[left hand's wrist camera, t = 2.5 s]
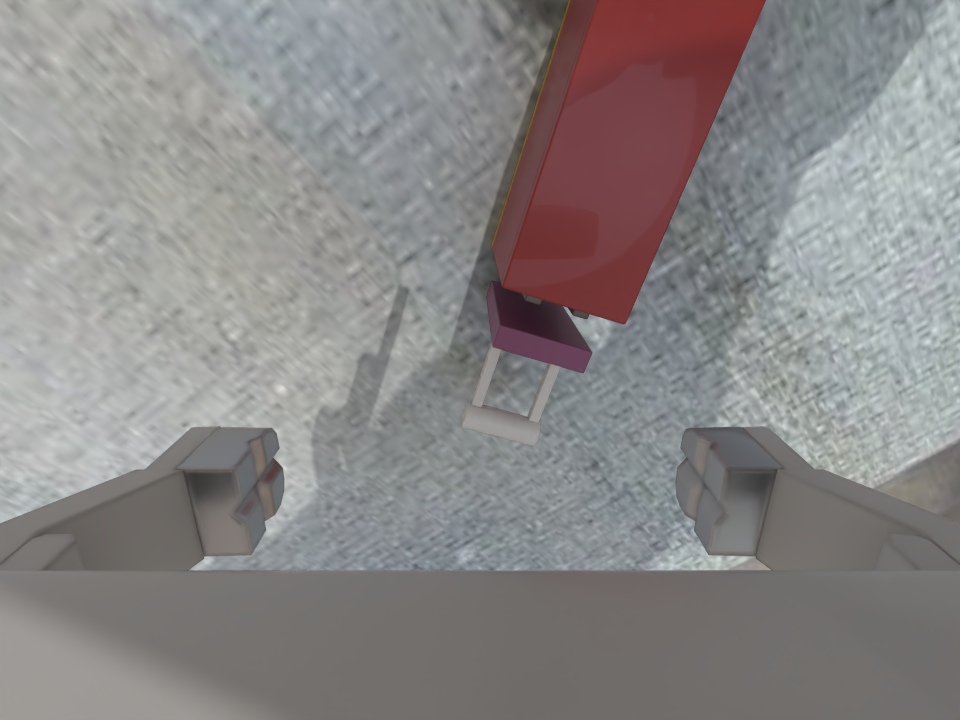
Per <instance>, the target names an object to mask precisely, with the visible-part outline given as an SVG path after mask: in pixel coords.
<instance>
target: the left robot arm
mask: <svg viewBox="0 0 960 720" xmlns="http://www.w3.org/2000/svg"><path fill="white" fill-rule="evenodd" d="M278 450H279V443H278V438H277V433H276V432H275V431H274V430H273V429H272V428H248V427H220V426H217V427H193V428H191V429H190V430H189V431H187V432H186V433H185V434H184V435H183V436H182V437H181V438H180V439H178V440H177V441H176V442H175V443H174V444H173V445H172V446H171V447H170V448H168V449H167V450H166V451H165V452H164V453H163V454H162V455H161V456H160V457H158V458H157V459H156V460H155V461H154V462H153V463H152V464H151V465H149V466H148V467H147V468H146V469H145V470H134V471H132V472H129V473H127V474H124V475H122V476H119V477H117V478H114V479H111V480H109V481H106V482H104V483H101V484H99V485H96V486H94V487H91V488H89V489H86V490H84V491H81V492H79V493H76V494H74V495H71V496H68V497H66V498H63V499H61V500H58V501H56V502H53V503H51V504H48V505H46V506H43V507H41V508H38V509H36V510H33V511H31V512H28V513H25V514H23V515H20V516H18V517H15V518H13V519H10V520H8V521H5V522H3V523H0V720H960V524H959V523H957V522H954V521H952V520H949V519H947V518H944V517H942V516H939V515H937V514H934V513H932V512H929V511H927V510H924V509H922V508H919V507H917V506H914V505H912V504H909V503H906V502H904V501H901V500H899V499H896V498H894V497H891V496H889V495H886V494H884V493H881V492H879V491H876V490H874V489H871V488H869V487H866V486H864V485H861V484H859V483H856V482H854V481H851V480H848V479H846V478H843V477H841V476H838V475H836V474H833V473H831V472H828V471H826V470H815V469H814V468H813V467H812V466H811V465H809V464H808V463H807V462H806V461H805V460H804V459H803V458H802V457H801V456H799V455H798V454H797V453H796V452H795V451H794V450H793V449H792V448H791V447H789V446H788V445H787V444H786V443H785V442H784V441H783V440H782V439H781V438H779V437H778V436H777V435H776V434H775V433H774V432H773V431H772V430H771V429H769V428H766V427H763V426H759V427H713V428H690V429H686V430H685V432H684V435H683V437H682V442H681V450H682V451H683V453H684V454H685V456H686V457H687V458H686V459H685V460H684V461H683V462H682V463H681V464H680V465H679V466H678V467H677V474H676V482H675V483H676V493H677V498H678V502H679V505H680V507H681V509H682V511H683V512H684V514H685V515H686V516H688V517H689V518H691V519H693V520H694V521H695V527H694V531H695V533H696V535H697V536H698V538H699V540H700V541H701V543H702V545H703V546H704V548H705V550H706V551H707V553H708V555H724V556H756V559H757V560H759V561H760V562H761V563H763V564H764V565H765V566H767V567H768V568H770V569H771V570H660V571H188V570H189V569H191V568H192V567H193V566H195V565H196V564H197V563H199V562H200V561H202V560H203V559H204V556H235V555H252V553H253V551H254V550H255V548H256V546H257V545H258V543H259V541H260V540H261V538H262V536H263V535H264V533H265V531H266V527H265V521H266V520H267V519H269V518H271V517H272V516H274V515H275V514H276V512H277V511H278V509H279V507H280V505H281V502H282V497H283V493H284V473H283V467H282V466H281V465H280V464H279V463H278V462H277V461H276V460H275V459H274V456H275V454H276V453H277V451H278Z"/></svg>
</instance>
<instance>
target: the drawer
mask: <svg viewBox="0 0 960 720" xmlns="http://www.w3.org/2000/svg"><path fill="white" fill-rule="evenodd" d="M486 299H487V307H488V315H489V323H490V331H491V339H492V342H491V345H490V348H489V351H488V354H487V357H486V360H485V363H484V366H483V368H482V371H481V374H480V377H479V380H478V383H477V386H476V389H475V392H474V395H473V398H472V402H471V401H468V402H467V403H466V405H465V408H464V411H463V414H462V418H461V427H463V428H467V429H471V430H475V431H478V432H482V433H486V434H490V435H494V436H497V437H501V438H505V439H509V440H512V441H516V442H520V443H524V444H528V445H531V446H533V445H535V444H536V442H537V440H538V438H539V435H540V430H541V422H540V421H539V420H540V418H541V415H542V413H543V410H544V408H545V405H546V403H547V400H548V398H549V395H550V393H551V390H552V387H553V385H554V382H555V380H556V377H557V375H558V372H559V370H560V367H563V368H566V369H570V370H573V371H577V372H580V373H584V371H585V369H586V366H587V364H588V362H589V359H590V357H591V354H592V351H591V349H590V348H589V346H588V345H587V343H586V342H585V340H584V338H583V337H582V335H581V334H580V332H579V331H578V329H577V328H576V326H575V324H574V323H573V321H572V320H571V318H570V317H569V315H568V314H567V312H566V310H565V309H564V307H563V306H561V305H558V304H555V303H551V302H548V301H545V300H542V299H538V298H535V297H532V296H528V295H525V294H522V293H519V292H515V291H512V290H509V289H505V288H503V287H502V284H501V283H498V282H494V281H491V284H490V287H489V290H488V293H487V296H486ZM568 309H569V310H570V312H571V313H572V315H574V316H577V317H580V318H584V319H587V318H588V317H589V314H588V313H584V312H581V311H578V310H574V309H571V308H568ZM502 350H504V351H507V352H511V353H514V354H518V355H521V356H525V357H528V358H532V359H535V360H539V361H542V362H546V363H548V365H547V368H546V370H545V373H544V375H543V378H542V381H541V383H540V386H539V388H538V391H537V393H536V396H535V399H534V401H533V404H532V406H531V409H530V412H529V414H528V417H526V416H523V415H519V414H515V413H511V412H508V411H504V410H500V409H497V408H493V407H489V406H486V405H483V402H484V399H485V396H486V394H487V391H488V388H489V385H490V382H491V379H492V376H493V373H494V371H495V368H496V365H497V362H498V359H499V356H500V353H501V351H502Z"/></svg>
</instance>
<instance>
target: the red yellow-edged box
mask: <svg viewBox="0 0 960 720" xmlns="http://www.w3.org/2000/svg"><path fill="white" fill-rule="evenodd" d="M765 1H766V0H569V1H568V5H567V8H566V11H565V14H564V17H563V20H562V24H561V27H560V30H559V33H558V36H557V39H556V43H555V46H554V49H553V52H552V55H551V58H550V62H549V65H548V68H547V71H546V74H545V77H544V81H543V84H542V87H541V90H540V93H539V96H538V100H537V103H536V106H535V109H534V112H533V115H532V118H531V122H530V125H529V128H528V131H527V134H526V137H525V141H524V144H523V147H522V150H521V153H520V156H519V160H518V163H517V166H516V169H515V172H514V175H513V179H512V182H511V185H510V188H509V191H508V194H507V198H506V201H505V204H504V207H503V210H502V213H501V217H500V220H499V223H498V226H497V229H496V232H495V236H494V239H493V242H492V245H491V249H492V250H493V254H494V258H495V262H496V266H497V270H498V273H499V277H500V281H501V284H502V287H503V288H505V289H509V290H512V291H515V292H519V293H522V294H525V295H528V296H532V297H535V298H538V299H542V300H545V301H548V302H551V303H555V304H558V305H561V306H565V307H568V308H571V309H574V310H578V311H581V312H584V313H588V314H591V315H594V316H597V317H601V318H604V319H607V320H611V321H614V322H617V323H620V324H626V322H627V319H628V317H629V315H630V312H631V310H632V308H633V305H634V303H635V301H636V299H637V296H638V294H639V292H640V289H641V287H642V285H643V282H644V280H645V278H646V275H647V273H648V271H649V269H650V266H651V264H652V262H653V259H654V257H655V255H656V252H657V250H658V248H659V245H660V243H661V241H662V239H663V236H664V234H665V232H666V229H667V227H668V225H669V222H670V220H671V218H672V216H673V213H674V211H675V209H676V206H677V204H678V202H679V199H680V197H681V195H682V192H683V190H684V188H685V186H686V183H687V181H688V179H689V176H690V174H691V172H692V169H693V167H694V165H695V162H696V160H697V158H698V156H699V153H700V151H701V149H702V146H703V144H704V142H705V139H706V137H707V135H708V133H709V130H710V128H711V126H712V123H713V121H714V119H715V116H716V114H717V112H718V109H719V107H720V105H721V103H722V100H723V98H724V96H725V93H726V91H727V89H728V86H729V84H730V82H731V79H732V77H733V75H734V73H735V70H736V68H737V66H738V63H739V61H740V59H741V56H742V54H743V52H744V50H745V47H746V45H747V43H748V40H749V38H750V36H751V33H752V31H753V29H754V26H755V24H756V22H757V20H758V17H759V15H760V13H761V10H762V8H763V6H764V3H765Z"/></svg>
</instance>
